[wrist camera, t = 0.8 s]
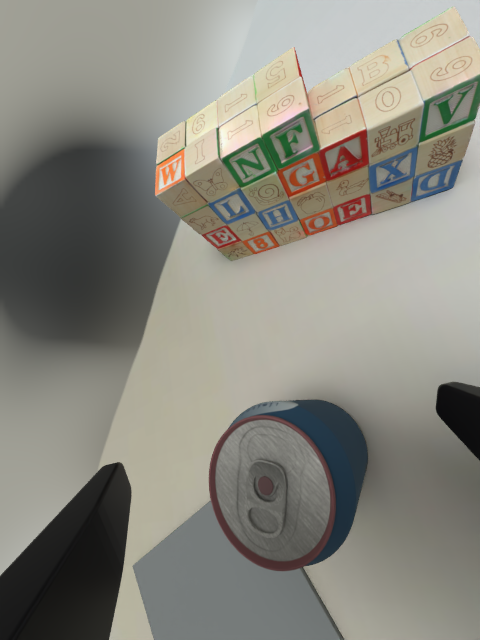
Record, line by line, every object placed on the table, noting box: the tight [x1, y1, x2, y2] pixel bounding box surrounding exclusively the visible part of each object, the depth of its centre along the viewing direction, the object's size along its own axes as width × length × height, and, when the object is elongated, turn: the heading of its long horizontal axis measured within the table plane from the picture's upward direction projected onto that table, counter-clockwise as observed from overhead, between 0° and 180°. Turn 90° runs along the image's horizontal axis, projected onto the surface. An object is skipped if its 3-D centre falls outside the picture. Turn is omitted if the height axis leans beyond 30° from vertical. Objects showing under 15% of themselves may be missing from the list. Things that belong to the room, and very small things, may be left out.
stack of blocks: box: [155, 7, 480, 261], centre depth 22 cm, size 21×6×12 cm, turn 93°
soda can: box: [209, 400, 368, 571], centre depth 16 cm, size 7×7×12 cm
